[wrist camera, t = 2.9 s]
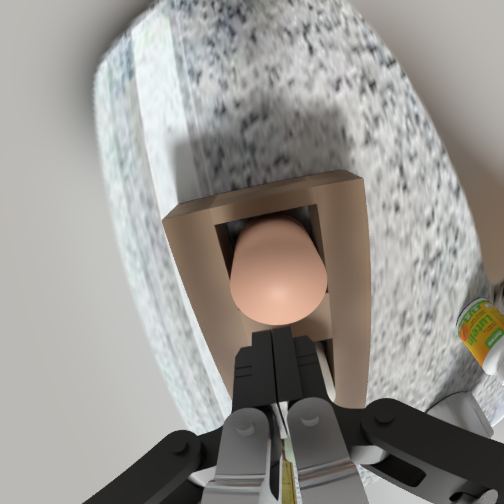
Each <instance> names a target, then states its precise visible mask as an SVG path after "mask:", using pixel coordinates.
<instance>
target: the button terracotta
mask: <svg viewBox="0 0 504 504" xmlns="http://www.w3.org/2000/svg"><path fill="white" fill-rule="evenodd" d="M326 288H327V273H326V269H325V266H324V264H323V262H322V260H321V258H320V256H319V254H318V252H317V250H316V248H315V246H314V244H313V242H312V240H311V238H310V236H309V235H308V233H307V231H306V229H305V228H304V226H303V225H302V224H301V223H300V222H299V221H297V220H296V219H294V218H293V217H291V216H288V215H285V214H281V213H268V214H263V215H260V216H258V217H255V218H254V219H252V220H251V221H249V222H248V223H247V224H246V225H245V226H244V227H243V228H242V230H241V231H240V233H239V235H238V238H237V241H236V246H235V252H234V259H233V265H232V272H231V279H230V290H231V295H232V298H233V300H234V302H235V304H236V305H237V307H238V308H239V309H240V310H241V311H242V312H243V313H244V314H245V315H246V316H248V317H249V318H251V319H253V320H255V321H257V322H260V323H263V324H268V325H284V324H289V323H293V322H296V321H299V320H301V319H303V318H304V317H306V316H308V315H309V314H310V313H312V312H313V311H314V310H315V309H316V308H317V307H318V305H319V304H320V303H321V301H322V299H323V297H324V295H325V292H326Z"/></svg>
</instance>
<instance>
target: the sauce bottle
mask: <svg viewBox="0 0 504 504" xmlns="http://www.w3.org/2000/svg"><path fill="white" fill-rule="evenodd" d="M281 500H282V504H297V498H296V490H295V481H294V472H293V464H292V462H289V461H287V460H286V456H285V452H282V497H281Z"/></svg>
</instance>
